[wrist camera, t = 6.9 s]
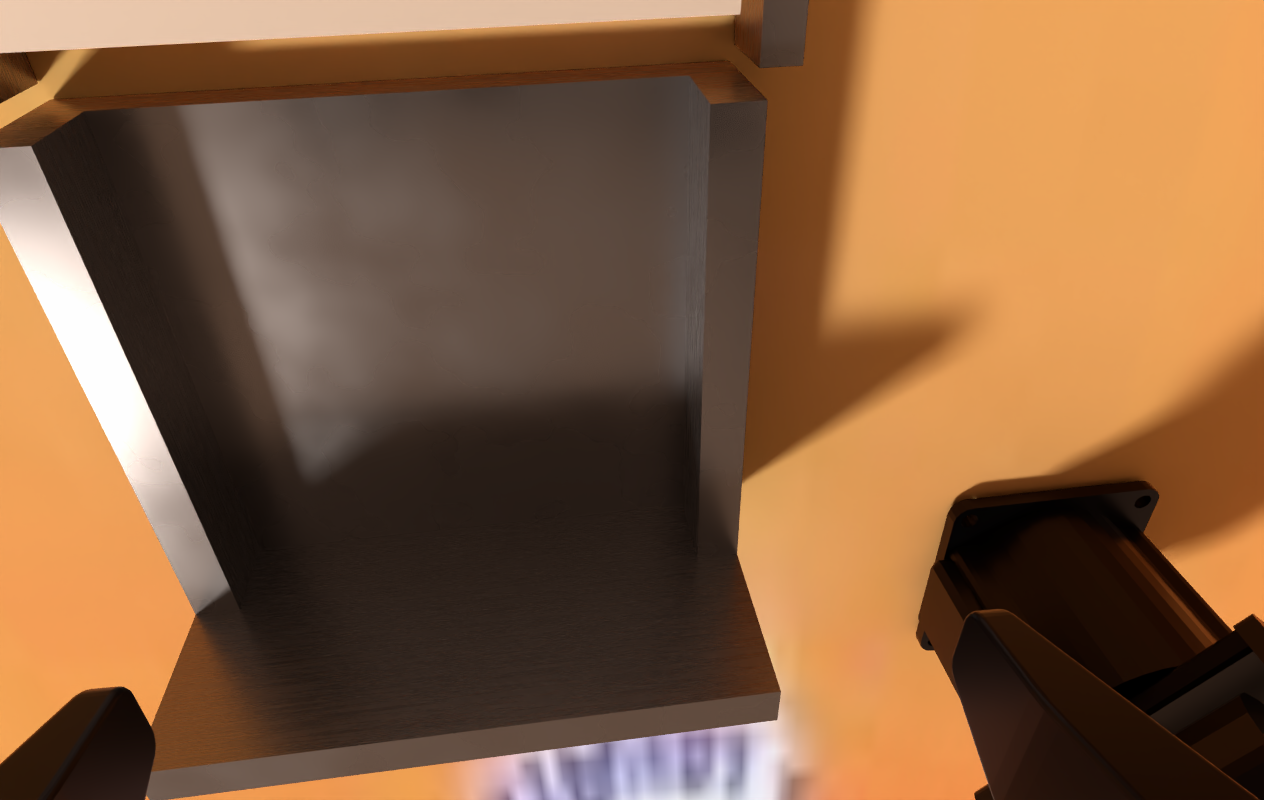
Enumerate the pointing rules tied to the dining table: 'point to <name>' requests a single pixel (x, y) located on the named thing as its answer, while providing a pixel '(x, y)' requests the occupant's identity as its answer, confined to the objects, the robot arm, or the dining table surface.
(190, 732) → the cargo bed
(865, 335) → the dining table surface
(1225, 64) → the dining table surface
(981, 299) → the dining table surface
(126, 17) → the tailgate
